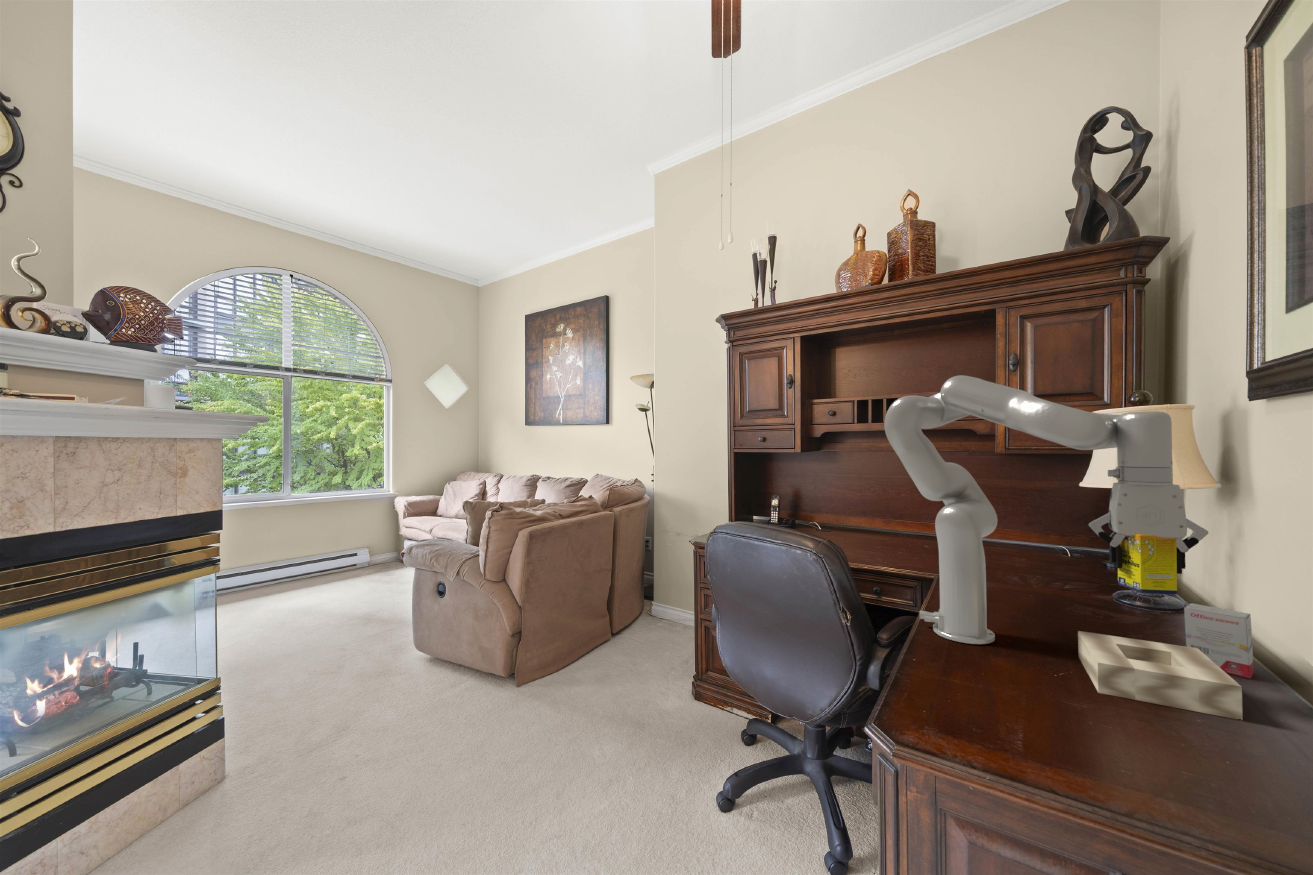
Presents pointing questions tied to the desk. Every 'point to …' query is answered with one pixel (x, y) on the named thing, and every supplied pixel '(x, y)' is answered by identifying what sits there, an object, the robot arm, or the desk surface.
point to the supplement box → (1149, 564)
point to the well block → (1159, 674)
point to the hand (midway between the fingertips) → (1146, 568)
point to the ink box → (1221, 637)
